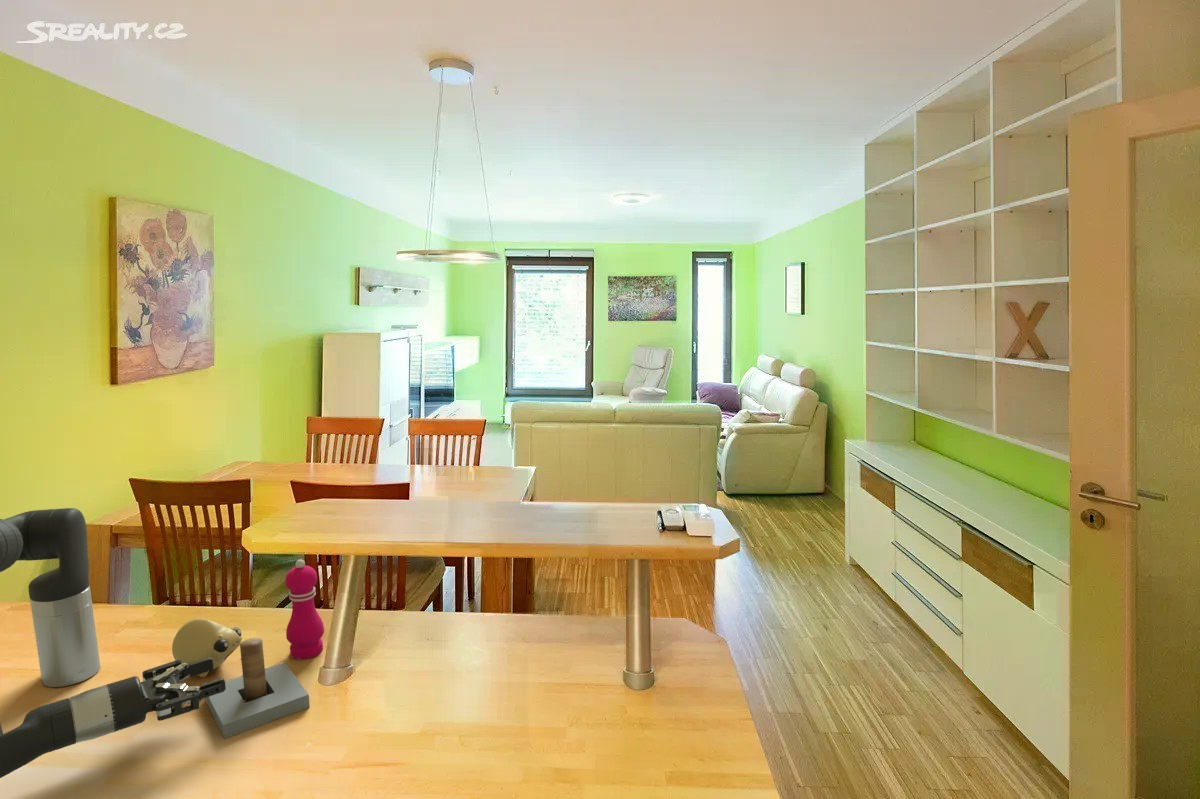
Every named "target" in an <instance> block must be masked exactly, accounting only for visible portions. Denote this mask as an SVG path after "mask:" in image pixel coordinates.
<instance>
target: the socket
mask: <svg viewBox="0 0 1200 799" xmlns="http://www.w3.org/2000/svg"><path fill="white" fill-rule="evenodd" d="M265 676H266V687H267V695H266V696H263V697H260V698H258V699H255V700H252V701H249V702H246V703H245V692H244V682H243V675H241V676H239V677H238V676H237V677H234V678H232V679H229V680H225V686H226V689H225V691H224V692H221V693H218V694H215V695H212V696H209V697H206V698H204V699H205V700H204V702H206V705H207V706H208V709H209V710H210V713H211V715H212V717H213V719H214V721H215V723H216V725H217V727H218V728H219V731H220V733H221V734H222V737H223V739H227V738H230V737H232V736H235V735H237V734H240V733H241V734H242V733H244V732H247V731H249V730H251V729H254V728H256V727H260V726H262V725H265V724H268V723H271V722H273V721H276V720H279V719H281V718H284V717H287V716H290V715H292V714H296V713H298V712H300V711H303V710H305V709H308V707H309V708H310V695H309V693H308V691H307V690H306V689H305V687H304V686H303V684H302V683H301V682H300V681H299V680H298V678H297V677H296V675H295V674H294V673H293V671H292V670H291V669H290V668H289V666H288V665H287V663H286V662H285V661H283V662H281V663H278V664H275V665H272V666H268V667H266V668H265Z"/></svg>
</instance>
